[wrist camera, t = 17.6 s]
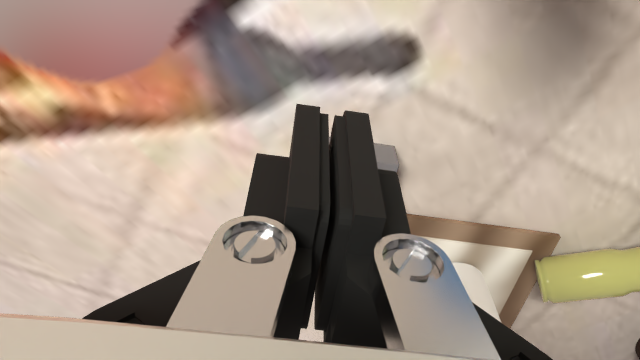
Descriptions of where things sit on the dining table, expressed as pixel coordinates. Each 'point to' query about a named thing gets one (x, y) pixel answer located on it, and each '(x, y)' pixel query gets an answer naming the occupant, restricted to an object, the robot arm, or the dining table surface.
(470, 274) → the can
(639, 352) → the coffee mug
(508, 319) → the sketch board
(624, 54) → the dining table surface
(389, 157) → the button base
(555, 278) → the cannon
